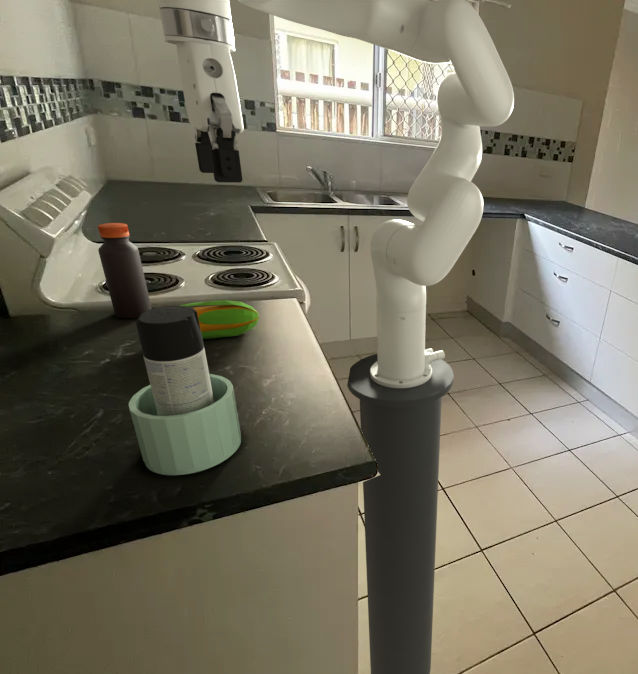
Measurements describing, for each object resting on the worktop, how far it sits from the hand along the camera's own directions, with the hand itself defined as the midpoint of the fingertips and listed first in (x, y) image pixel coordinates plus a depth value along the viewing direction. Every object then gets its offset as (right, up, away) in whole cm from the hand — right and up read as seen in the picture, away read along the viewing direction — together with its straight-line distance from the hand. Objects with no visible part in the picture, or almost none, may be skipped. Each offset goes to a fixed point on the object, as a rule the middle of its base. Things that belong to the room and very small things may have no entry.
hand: (220, 177), depth 66 cm
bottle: (-45, -17, +42) cm, 64 cm away
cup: (-5, -38, +2) cm, 39 cm away
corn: (-24, -22, +35) cm, 48 cm away
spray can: (-5, -38, +2) cm, 38 cm away
